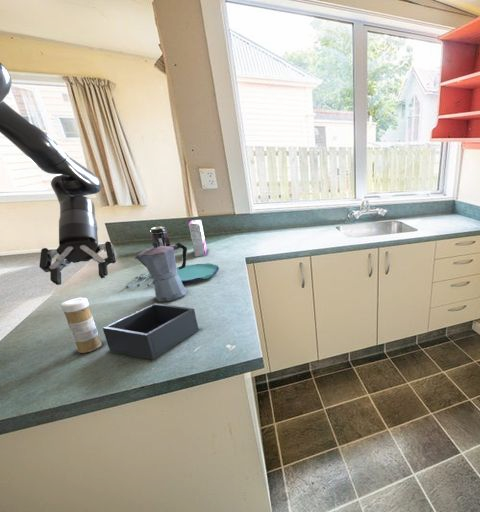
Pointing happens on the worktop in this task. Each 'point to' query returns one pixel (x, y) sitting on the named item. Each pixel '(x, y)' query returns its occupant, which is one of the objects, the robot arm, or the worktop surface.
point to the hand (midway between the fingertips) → (80, 280)
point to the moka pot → (164, 270)
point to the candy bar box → (197, 237)
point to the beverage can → (160, 236)
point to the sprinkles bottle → (81, 324)
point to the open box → (151, 330)
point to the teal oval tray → (187, 273)
